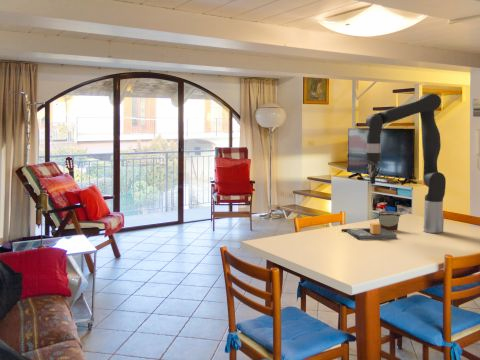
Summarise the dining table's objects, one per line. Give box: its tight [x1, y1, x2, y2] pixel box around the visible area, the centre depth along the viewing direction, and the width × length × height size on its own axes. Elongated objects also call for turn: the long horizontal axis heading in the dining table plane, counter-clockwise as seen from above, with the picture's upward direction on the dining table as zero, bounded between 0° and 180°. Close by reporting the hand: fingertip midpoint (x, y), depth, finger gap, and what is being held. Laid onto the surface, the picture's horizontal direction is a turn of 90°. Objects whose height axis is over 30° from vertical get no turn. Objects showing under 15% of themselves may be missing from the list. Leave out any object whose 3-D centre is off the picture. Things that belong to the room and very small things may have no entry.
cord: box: [346, 230, 359, 240], centre depth 250 cm, size 17×1×1 cm, turn 7°
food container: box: [377, 210, 401, 232], centre depth 266 cm, size 12×6×10 cm, turn 84°
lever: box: [369, 222, 381, 235], centre depth 247 cm, size 4×4×7 cm
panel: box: [346, 227, 398, 241], centre depth 252 cm, size 20×18×2 cm
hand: (372, 183), depth 256 cm, fingers closed
